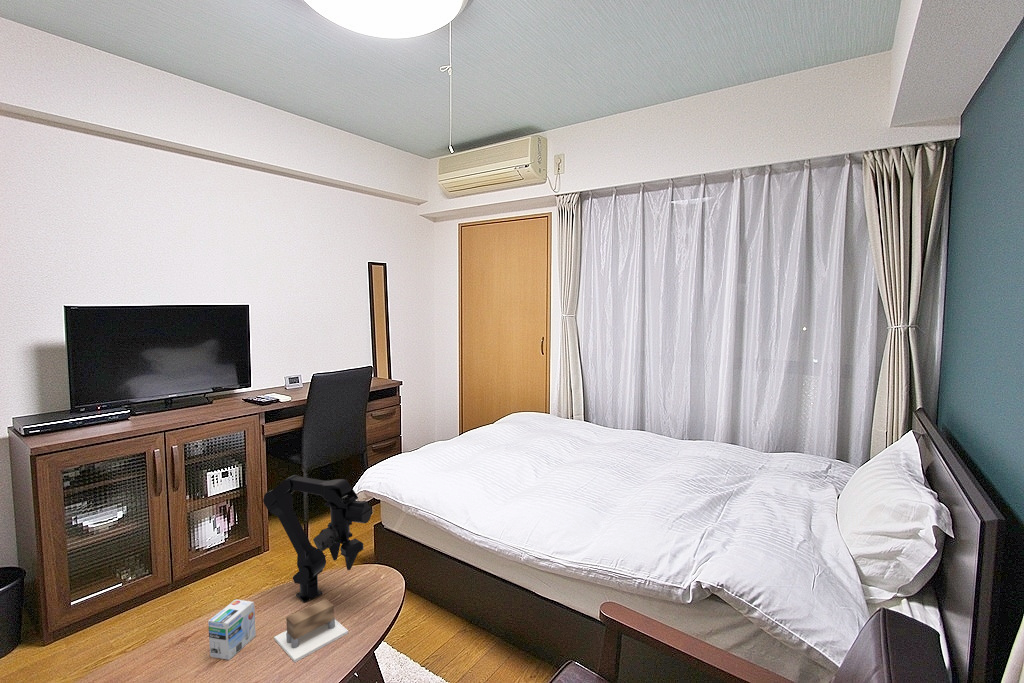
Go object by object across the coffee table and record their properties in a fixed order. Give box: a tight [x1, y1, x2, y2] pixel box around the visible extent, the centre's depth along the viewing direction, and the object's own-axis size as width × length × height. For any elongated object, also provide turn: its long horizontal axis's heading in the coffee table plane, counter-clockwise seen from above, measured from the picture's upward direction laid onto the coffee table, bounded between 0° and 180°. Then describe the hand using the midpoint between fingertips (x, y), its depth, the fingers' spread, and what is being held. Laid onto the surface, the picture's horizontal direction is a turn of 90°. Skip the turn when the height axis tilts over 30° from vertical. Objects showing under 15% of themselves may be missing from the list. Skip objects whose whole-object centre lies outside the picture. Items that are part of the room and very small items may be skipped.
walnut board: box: [286, 598, 335, 640], centre depth 143 cm, size 12×5×4 cm, turn 138°
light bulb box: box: [207, 598, 257, 661], centre depth 140 cm, size 11×7×11 cm, turn 168°
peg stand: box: [273, 617, 349, 663], centre depth 144 cm, size 14×16×3 cm
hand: (342, 565), depth 160 cm, fingers open, 9 cm apart
